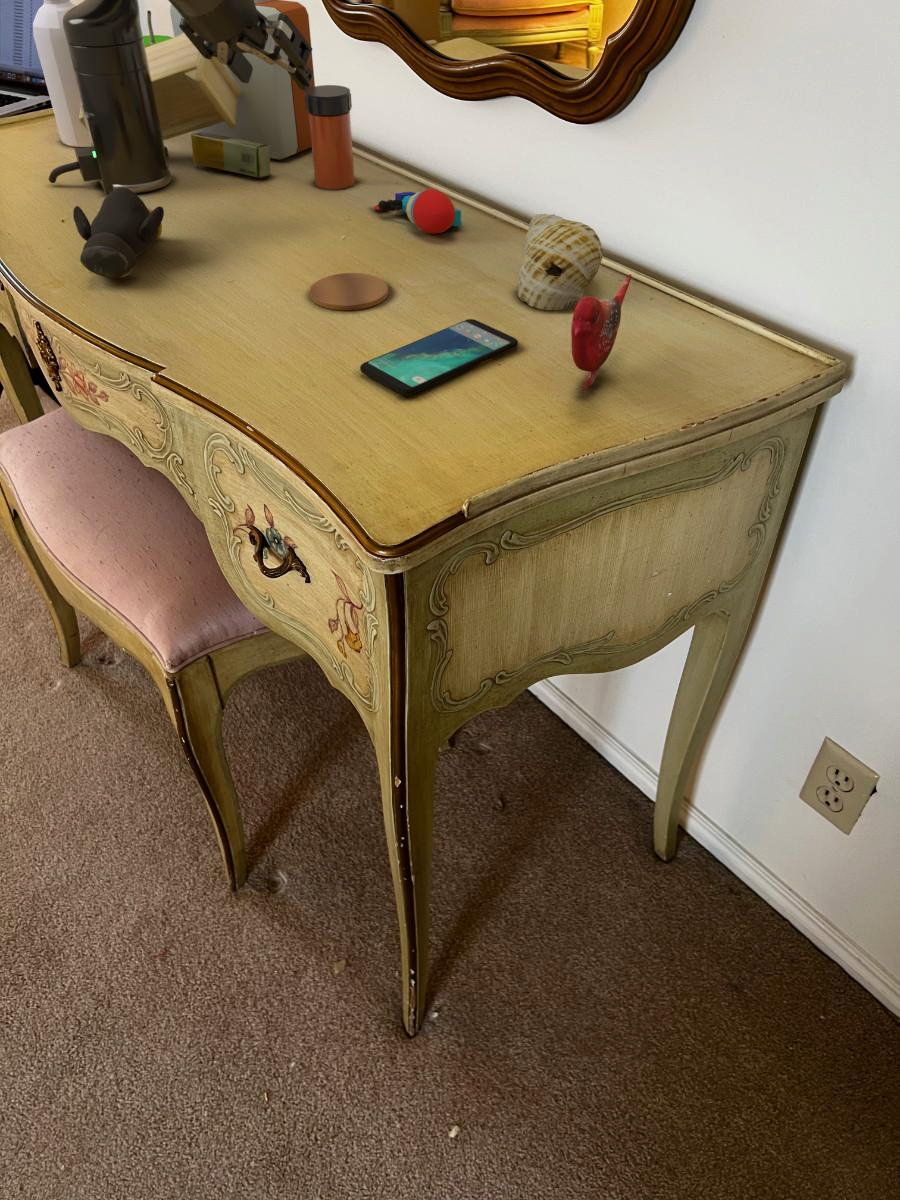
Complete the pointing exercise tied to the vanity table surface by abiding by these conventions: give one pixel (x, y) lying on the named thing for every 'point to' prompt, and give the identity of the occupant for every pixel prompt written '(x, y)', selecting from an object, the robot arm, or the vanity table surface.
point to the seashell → (557, 262)
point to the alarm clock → (269, 92)
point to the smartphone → (438, 356)
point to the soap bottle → (59, 71)
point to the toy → (117, 233)
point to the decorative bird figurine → (595, 331)
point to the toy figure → (425, 209)
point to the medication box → (231, 154)
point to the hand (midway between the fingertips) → (277, 79)
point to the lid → (328, 100)
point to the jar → (332, 150)
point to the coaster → (349, 291)
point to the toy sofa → (189, 88)
